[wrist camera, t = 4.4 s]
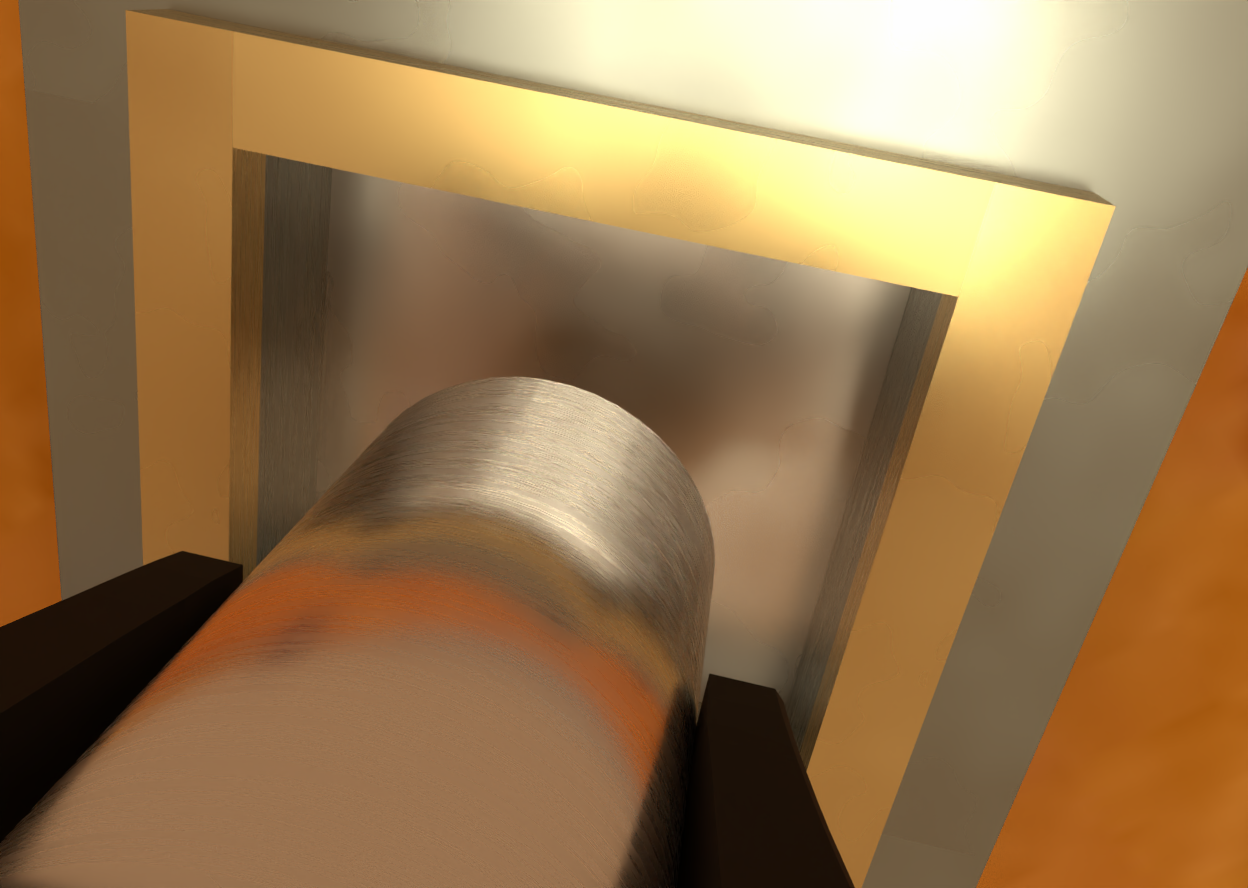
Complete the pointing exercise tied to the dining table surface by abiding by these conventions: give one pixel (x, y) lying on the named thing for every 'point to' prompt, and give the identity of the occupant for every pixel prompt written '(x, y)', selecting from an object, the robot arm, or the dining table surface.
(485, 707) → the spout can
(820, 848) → the robot arm
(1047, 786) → the dining table surface
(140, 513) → the metal base plate
